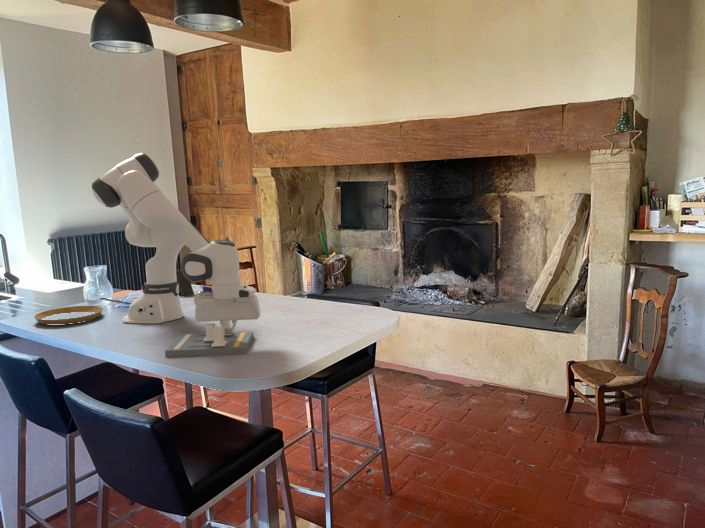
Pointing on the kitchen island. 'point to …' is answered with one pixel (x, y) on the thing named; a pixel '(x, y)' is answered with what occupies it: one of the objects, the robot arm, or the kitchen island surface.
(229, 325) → the switch far
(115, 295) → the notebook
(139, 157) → the robot arm
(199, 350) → the switch board
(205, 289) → the figurine
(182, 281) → the phone stand
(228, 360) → the kitchen island surface
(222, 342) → the switch near
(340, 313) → the kitchen island surface
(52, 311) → the plant saucer
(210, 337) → the switch mid
